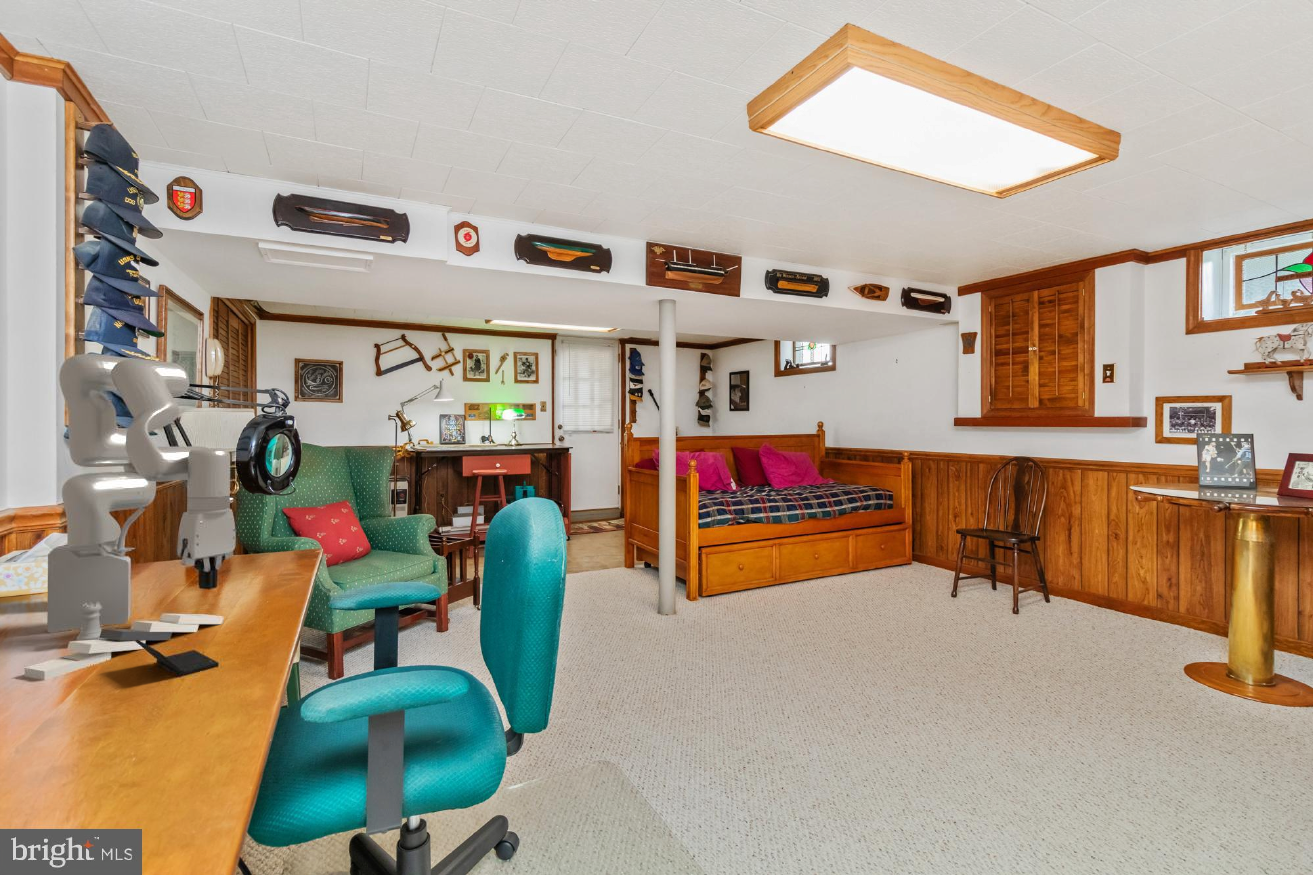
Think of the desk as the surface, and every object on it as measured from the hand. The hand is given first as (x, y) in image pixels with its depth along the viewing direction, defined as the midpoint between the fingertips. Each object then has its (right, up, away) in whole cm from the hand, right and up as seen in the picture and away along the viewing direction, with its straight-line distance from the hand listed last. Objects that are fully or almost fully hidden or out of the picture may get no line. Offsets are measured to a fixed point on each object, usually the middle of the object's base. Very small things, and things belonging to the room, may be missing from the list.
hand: (207, 587), depth 133 cm
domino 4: (-1, -7, -4) cm, 8 cm away
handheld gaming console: (+12, -9, -23) cm, 28 cm away
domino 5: (0, -7, +1) cm, 7 cm away
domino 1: (-6, -8, -19) cm, 22 cm away
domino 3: (-3, -7, -9) cm, 12 cm away
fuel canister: (-23, -8, -1) cm, 25 cm away
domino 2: (-4, -7, -14) cm, 16 cm away
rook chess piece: (-14, -8, -13) cm, 21 cm away
